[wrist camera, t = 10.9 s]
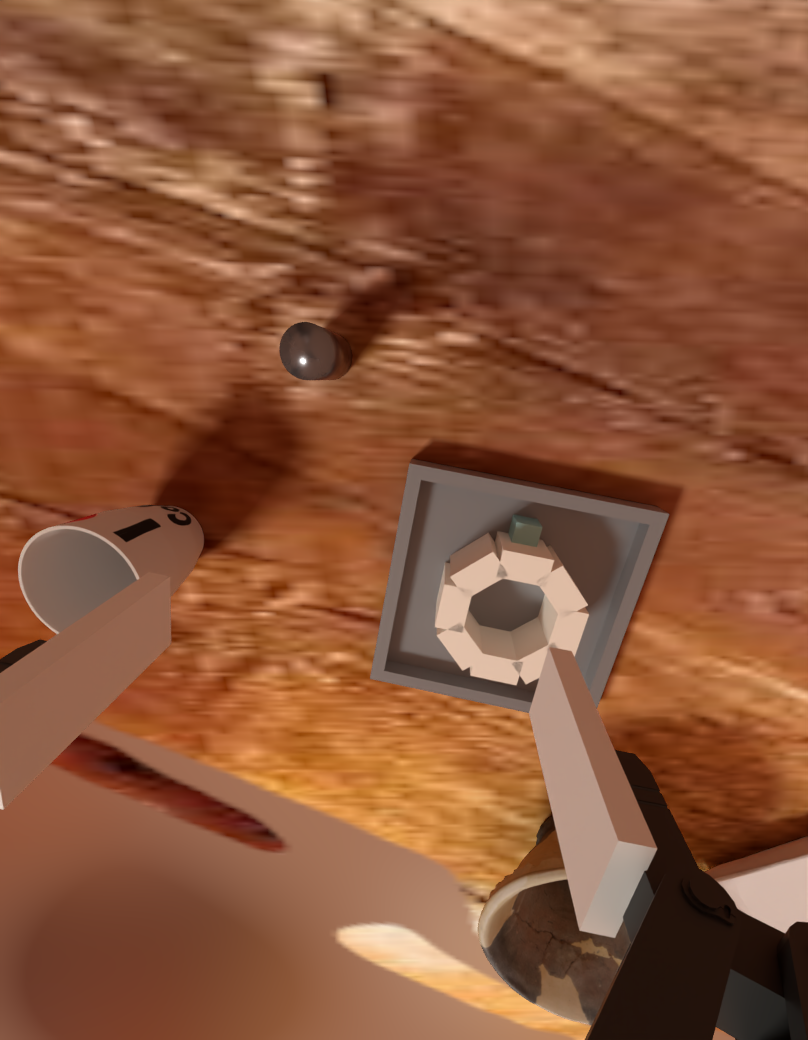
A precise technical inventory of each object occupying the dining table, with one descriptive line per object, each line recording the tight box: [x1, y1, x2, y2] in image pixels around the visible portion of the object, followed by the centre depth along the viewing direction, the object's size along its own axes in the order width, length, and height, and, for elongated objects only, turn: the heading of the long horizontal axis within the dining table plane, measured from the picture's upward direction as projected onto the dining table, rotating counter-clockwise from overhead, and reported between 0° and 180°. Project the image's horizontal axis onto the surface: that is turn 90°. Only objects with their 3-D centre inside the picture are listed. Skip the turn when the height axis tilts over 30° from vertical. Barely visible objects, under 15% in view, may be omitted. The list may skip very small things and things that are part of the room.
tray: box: [370, 459, 669, 713], centre depth 35 cm, size 18×18×2 cm
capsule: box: [280, 322, 352, 380], centre depth 30 cm, size 3×3×6 cm
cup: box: [18, 505, 204, 634], centre depth 33 cm, size 8×8×10 cm
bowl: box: [478, 816, 631, 1025], centre depth 38 cm, size 18×18×10 cm
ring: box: [435, 514, 589, 685], centre depth 33 cm, size 10×12×4 cm
